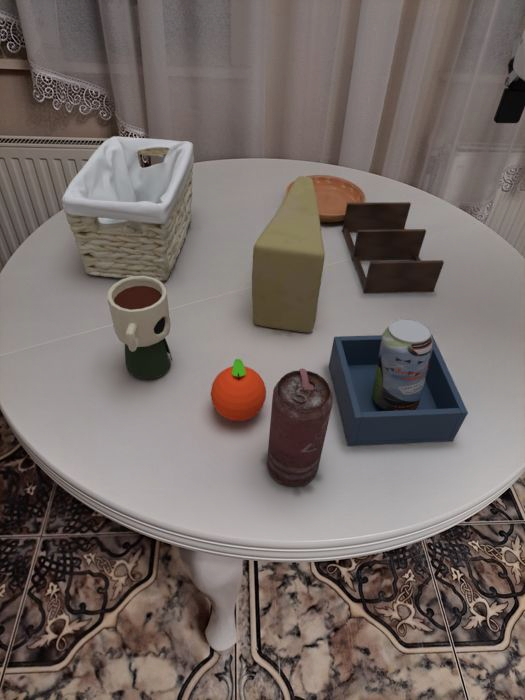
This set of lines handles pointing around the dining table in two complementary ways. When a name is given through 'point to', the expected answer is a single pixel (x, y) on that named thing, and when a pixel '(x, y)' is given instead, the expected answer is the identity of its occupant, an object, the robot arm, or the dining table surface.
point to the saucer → (334, 196)
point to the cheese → (289, 263)
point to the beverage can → (402, 365)
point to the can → (298, 426)
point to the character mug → (142, 324)
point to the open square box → (391, 426)
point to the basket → (131, 207)
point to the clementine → (238, 392)
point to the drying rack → (388, 248)
